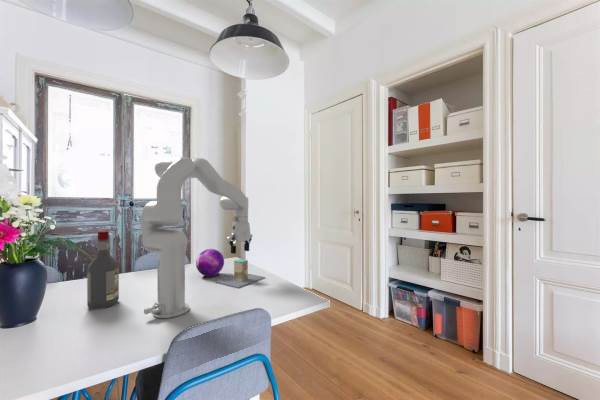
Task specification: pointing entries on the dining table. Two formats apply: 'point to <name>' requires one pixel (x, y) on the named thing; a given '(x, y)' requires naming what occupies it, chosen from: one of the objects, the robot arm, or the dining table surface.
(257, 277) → the slate mat
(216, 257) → the decorative orb
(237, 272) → the maple block
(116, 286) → the liquor
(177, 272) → the robot arm
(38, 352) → the dining table surface
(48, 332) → the dining table surface
